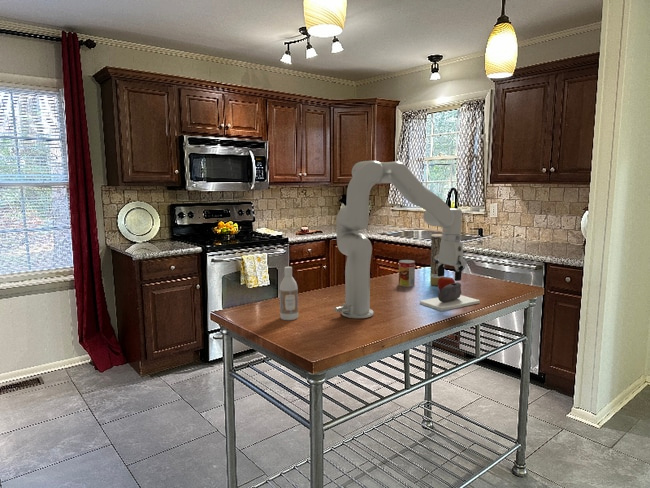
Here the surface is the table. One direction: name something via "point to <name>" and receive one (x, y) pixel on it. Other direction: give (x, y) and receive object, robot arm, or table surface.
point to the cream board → (449, 303)
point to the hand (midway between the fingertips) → (449, 278)
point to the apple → (445, 282)
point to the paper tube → (435, 248)
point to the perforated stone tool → (450, 292)
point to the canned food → (406, 273)
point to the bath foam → (288, 296)
